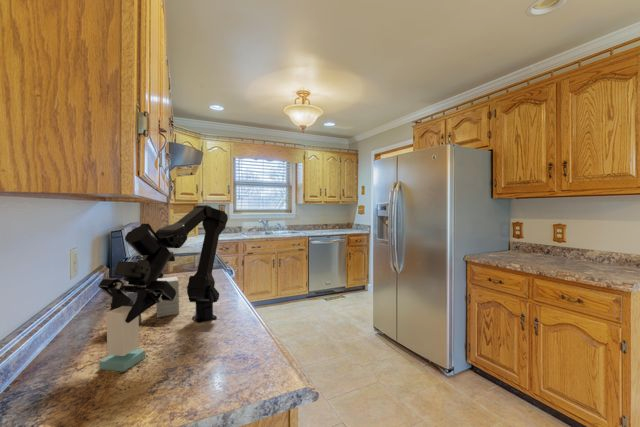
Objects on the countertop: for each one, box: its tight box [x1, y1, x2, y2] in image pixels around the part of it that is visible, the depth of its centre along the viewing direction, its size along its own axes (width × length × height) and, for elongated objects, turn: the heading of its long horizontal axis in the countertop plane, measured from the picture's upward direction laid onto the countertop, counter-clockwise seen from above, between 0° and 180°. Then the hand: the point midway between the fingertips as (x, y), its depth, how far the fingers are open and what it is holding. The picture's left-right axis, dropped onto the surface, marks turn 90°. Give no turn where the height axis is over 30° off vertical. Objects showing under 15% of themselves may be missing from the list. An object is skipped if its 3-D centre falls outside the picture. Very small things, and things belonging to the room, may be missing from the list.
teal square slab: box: [99, 348, 147, 372], centre depth 71 cm, size 6×6×2 cm
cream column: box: [106, 306, 140, 356], centre depth 71 cm, size 4×4×10 cm
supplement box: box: [156, 276, 180, 318], centre depth 110 cm, size 7×7×13 cm
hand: (118, 321), depth 70 cm, fingers closed on cream column, 4 cm apart
